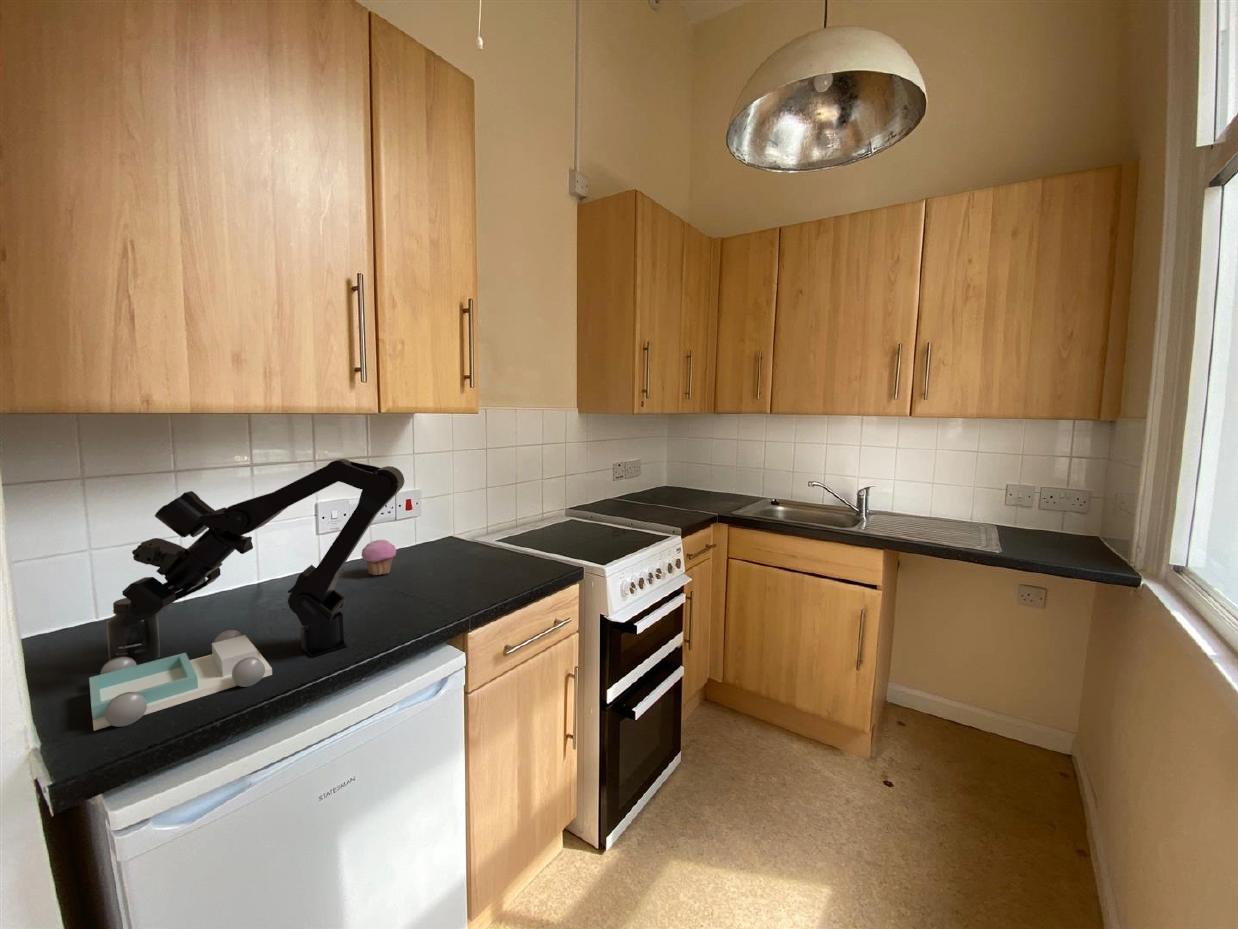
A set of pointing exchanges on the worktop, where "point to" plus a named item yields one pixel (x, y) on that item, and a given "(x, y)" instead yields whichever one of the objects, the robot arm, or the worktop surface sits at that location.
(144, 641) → the supplement bottle
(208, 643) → the worktop surface
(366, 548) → the cupcake
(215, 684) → the chassis
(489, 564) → the worktop surface
